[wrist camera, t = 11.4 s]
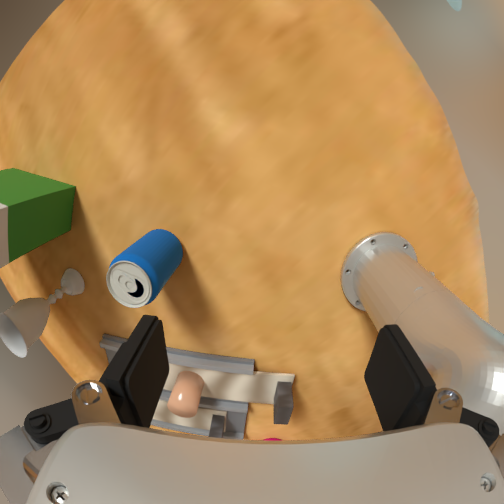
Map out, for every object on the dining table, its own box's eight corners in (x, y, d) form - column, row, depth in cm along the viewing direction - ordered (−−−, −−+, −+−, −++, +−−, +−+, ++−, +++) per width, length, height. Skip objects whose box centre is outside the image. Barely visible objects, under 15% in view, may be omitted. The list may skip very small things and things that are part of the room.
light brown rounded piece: (204, 373, 45) (196, 402, 39) (204, 391, 47) (197, 419, 40) (176, 368, 45) (165, 396, 39) (178, 387, 47) (168, 414, 40)
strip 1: (226, 409, 49) (222, 435, 43) (225, 430, 52) (222, 454, 46) (115, 386, 50) (104, 408, 43) (123, 409, 52) (113, 429, 46)
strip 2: (294, 374, 45) (297, 401, 39) (286, 402, 48) (287, 429, 42) (157, 356, 46) (145, 381, 39) (162, 386, 48) (152, 410, 42)
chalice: (60, 256, 41) (-9, 303, 24) (89, 270, 42) (22, 327, 25) (59, 291, 43) (0, 343, 26) (87, 305, 44) (30, 365, 27)
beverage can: (170, 278, 41) (140, 321, 30) (136, 253, 40) (96, 288, 29) (192, 244, 39) (165, 281, 28) (155, 218, 38) (115, 245, 27)
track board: (254, 359, 45) (253, 368, 43) (243, 433, 53) (242, 441, 51) (104, 333, 46) (98, 340, 44) (125, 411, 54) (122, 418, 52)
